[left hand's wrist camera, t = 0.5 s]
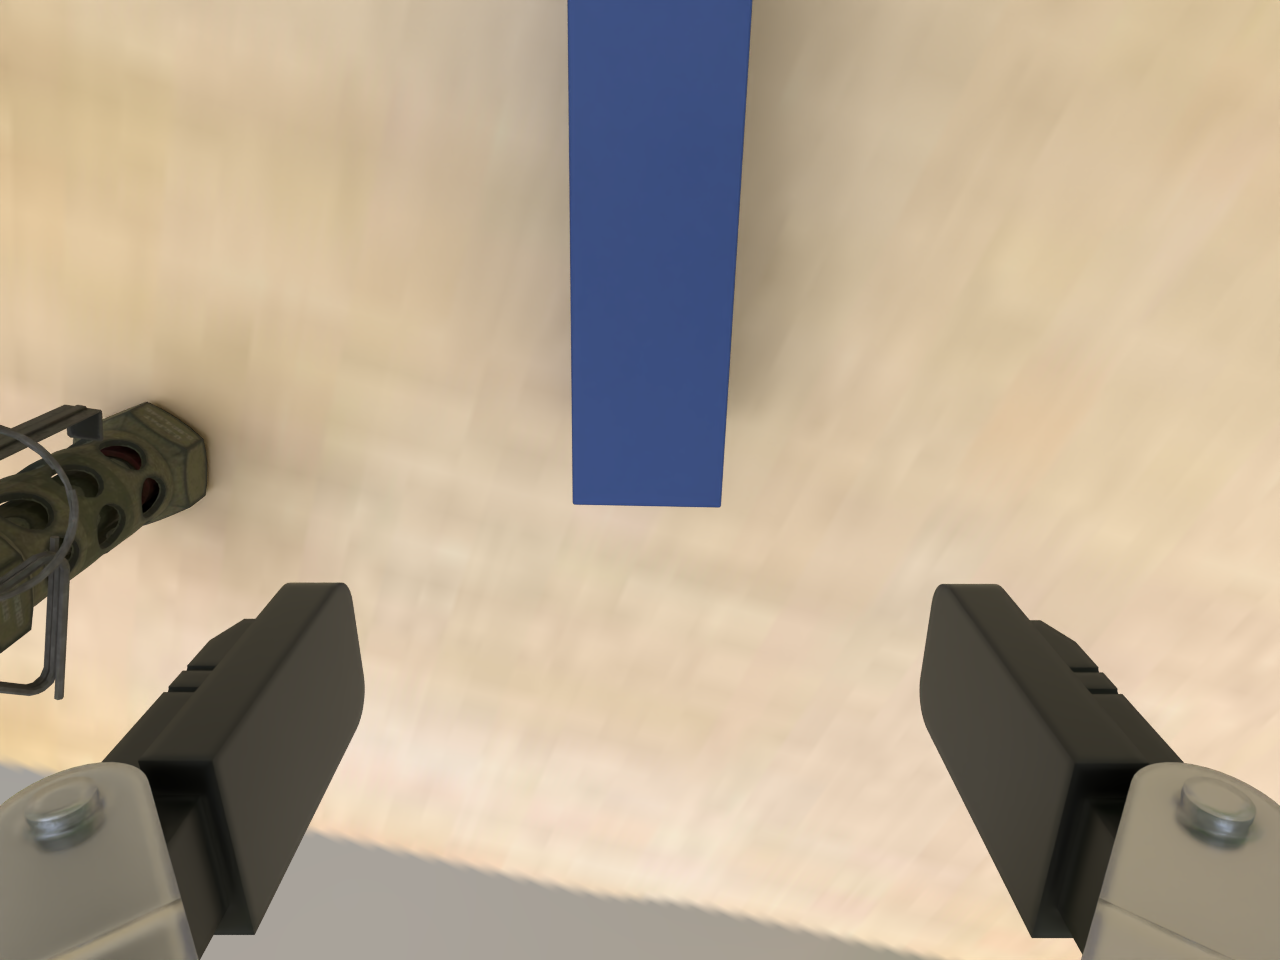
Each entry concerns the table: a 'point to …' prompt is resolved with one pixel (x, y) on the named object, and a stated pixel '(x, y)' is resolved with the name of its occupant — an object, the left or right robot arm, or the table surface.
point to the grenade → (83, 510)
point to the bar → (653, 243)
